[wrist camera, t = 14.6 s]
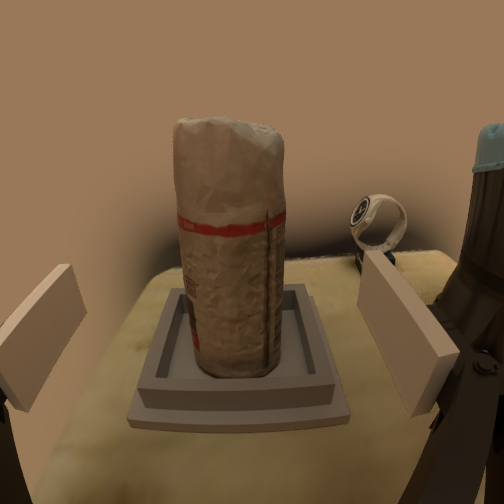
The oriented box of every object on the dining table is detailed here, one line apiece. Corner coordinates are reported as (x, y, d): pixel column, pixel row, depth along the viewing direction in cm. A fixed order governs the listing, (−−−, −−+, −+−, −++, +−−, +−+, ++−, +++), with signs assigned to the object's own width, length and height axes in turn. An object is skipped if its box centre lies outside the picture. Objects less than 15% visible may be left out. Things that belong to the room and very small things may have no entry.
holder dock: (311, 304, 36) (313, 277, 35) (347, 423, 21) (356, 394, 19) (167, 309, 36) (162, 282, 35) (131, 427, 21) (116, 399, 19)
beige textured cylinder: (211, 317, 33) (192, 117, 24) (289, 327, 31) (291, 113, 23) (178, 373, 25) (136, 123, 17) (273, 390, 23) (271, 111, 15)
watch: (342, 261, 46) (348, 189, 42) (392, 261, 46) (401, 192, 41) (349, 280, 41) (356, 200, 37) (403, 279, 40) (415, 203, 36)
